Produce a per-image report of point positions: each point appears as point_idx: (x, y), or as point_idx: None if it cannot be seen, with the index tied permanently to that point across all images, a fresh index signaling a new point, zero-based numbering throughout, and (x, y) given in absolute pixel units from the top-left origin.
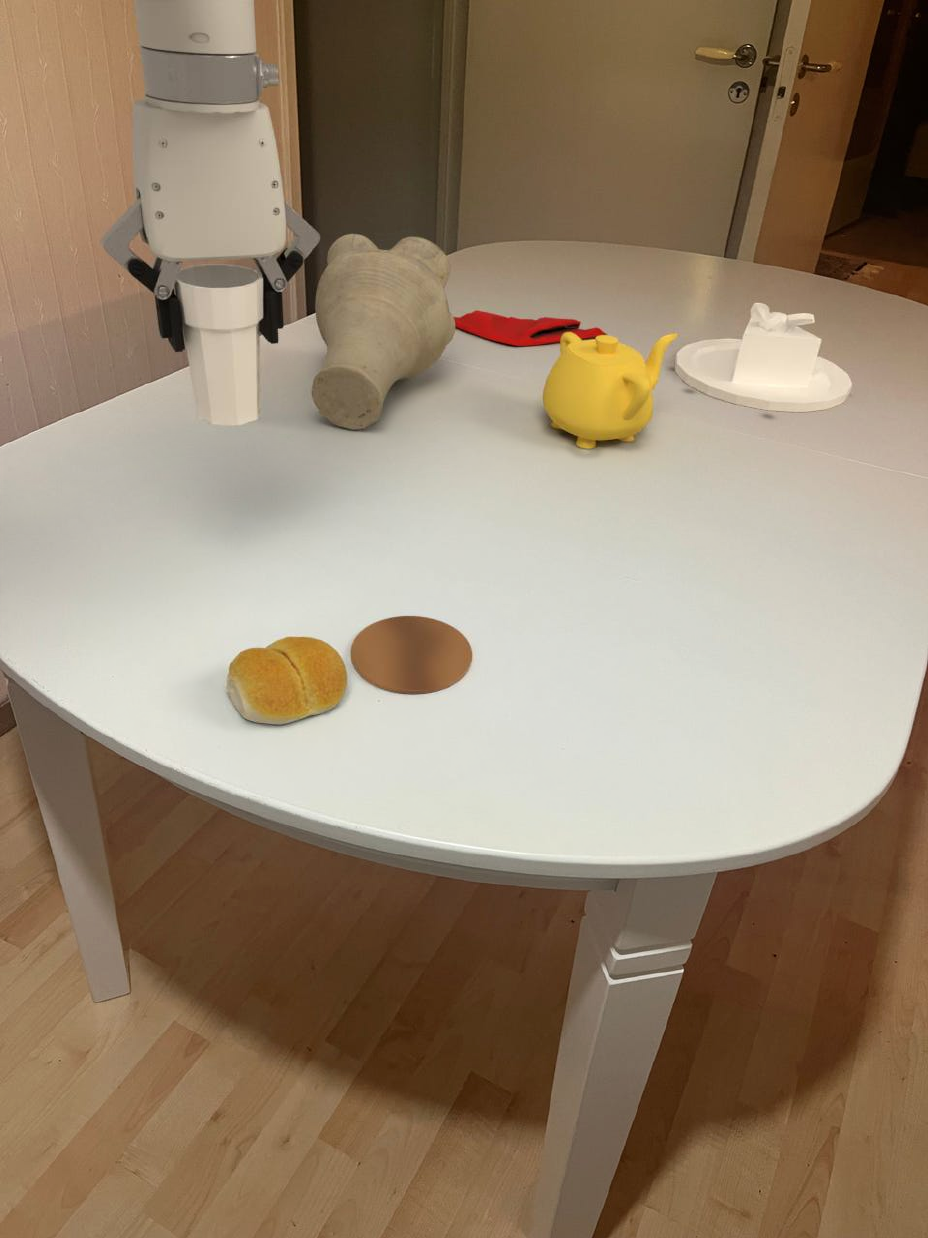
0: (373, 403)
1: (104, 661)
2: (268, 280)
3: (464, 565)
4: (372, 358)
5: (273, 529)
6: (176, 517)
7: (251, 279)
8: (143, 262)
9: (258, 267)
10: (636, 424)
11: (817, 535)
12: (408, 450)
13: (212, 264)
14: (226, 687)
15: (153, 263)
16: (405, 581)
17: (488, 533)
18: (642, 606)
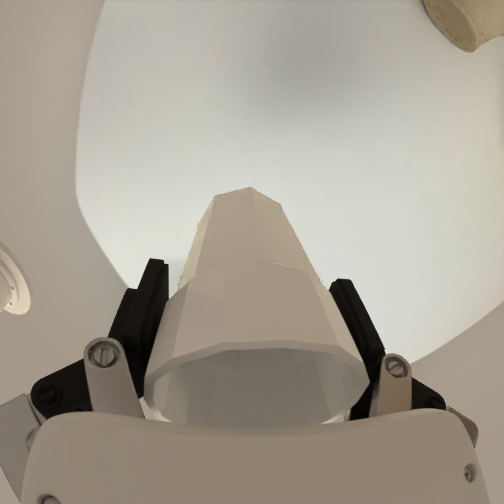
0: (462, 44)
1: (121, 225)
2: (350, 408)
3: (375, 238)
4: (493, 31)
5: (291, 118)
6: (221, 58)
7: (351, 368)
8: (70, 408)
9: (373, 393)
10: None
11: (488, 291)
12: (451, 81)
13: (300, 344)
14: (178, 285)
15: (91, 394)
16: (333, 235)
17: (414, 215)
18: (405, 306)
